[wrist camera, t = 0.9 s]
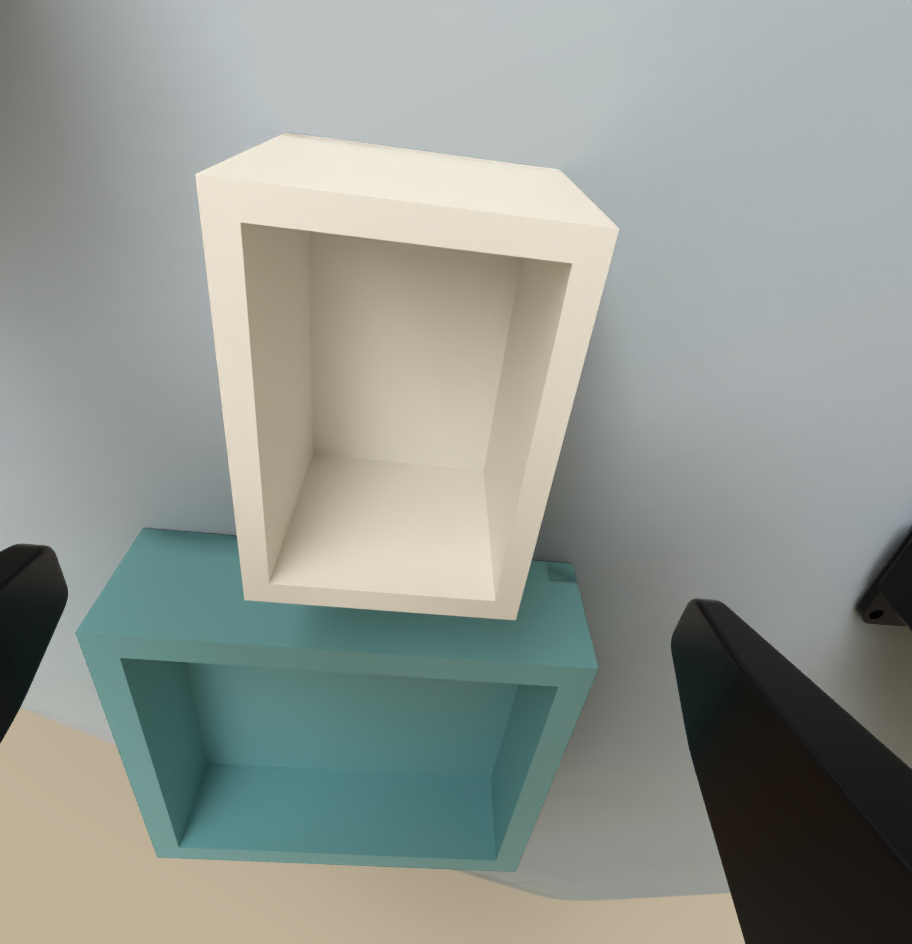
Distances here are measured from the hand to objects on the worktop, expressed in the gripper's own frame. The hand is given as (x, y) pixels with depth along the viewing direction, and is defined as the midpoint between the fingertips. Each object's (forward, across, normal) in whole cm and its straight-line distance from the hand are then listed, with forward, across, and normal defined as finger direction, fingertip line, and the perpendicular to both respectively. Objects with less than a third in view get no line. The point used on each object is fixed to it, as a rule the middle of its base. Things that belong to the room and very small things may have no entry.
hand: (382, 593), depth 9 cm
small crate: (+10, 0, 0) cm, 10 cm away
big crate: (+10, +1, +15) cm, 18 cm away
